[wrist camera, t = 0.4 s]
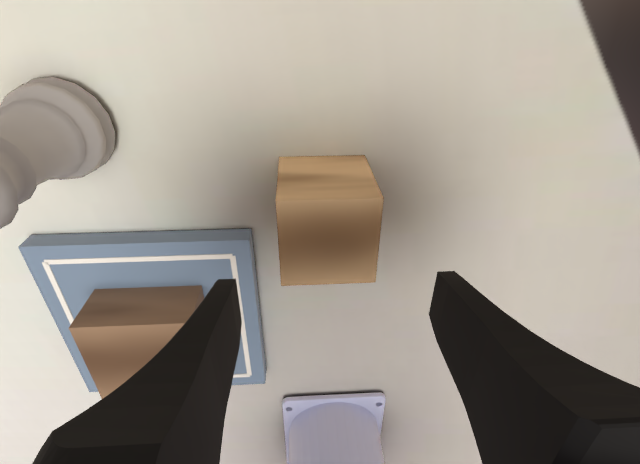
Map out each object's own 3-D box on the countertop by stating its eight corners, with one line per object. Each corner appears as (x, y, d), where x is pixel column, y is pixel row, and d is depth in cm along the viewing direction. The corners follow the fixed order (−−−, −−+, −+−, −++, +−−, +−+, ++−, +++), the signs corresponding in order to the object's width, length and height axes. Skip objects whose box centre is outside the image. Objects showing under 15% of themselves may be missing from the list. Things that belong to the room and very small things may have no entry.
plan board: (266, 369, 28) (262, 423, 25) (97, 377, 28) (67, 434, 24) (251, 228, 22) (242, 274, 18) (31, 234, 21) (-22, 283, 18)
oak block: (359, 227, 22) (375, 282, 18) (283, 229, 22) (281, 285, 18) (364, 154, 20) (383, 198, 16) (279, 156, 20) (275, 200, 16)
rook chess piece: (31, 164, 19) (-113, 257, 12) (5, 68, 17) (-190, 118, 10) (125, 173, 20) (36, 267, 13) (112, 81, 17) (-4, 137, 11)
